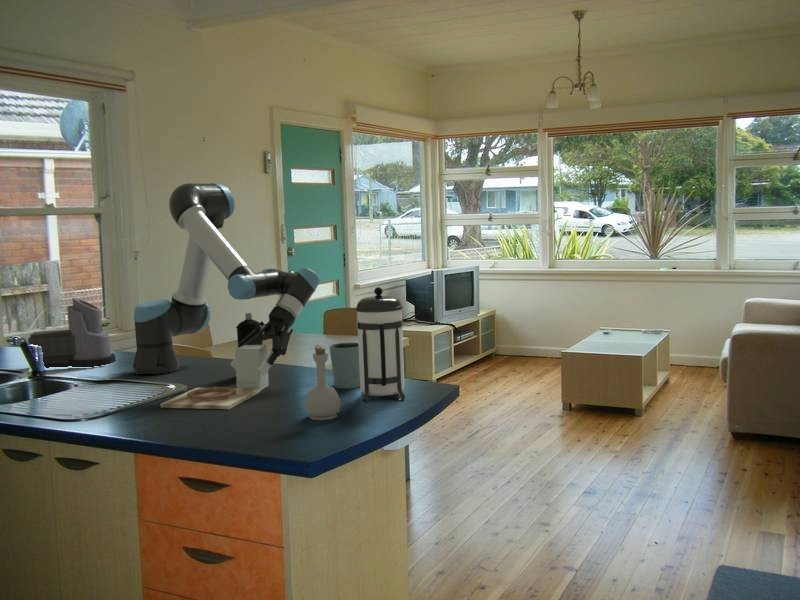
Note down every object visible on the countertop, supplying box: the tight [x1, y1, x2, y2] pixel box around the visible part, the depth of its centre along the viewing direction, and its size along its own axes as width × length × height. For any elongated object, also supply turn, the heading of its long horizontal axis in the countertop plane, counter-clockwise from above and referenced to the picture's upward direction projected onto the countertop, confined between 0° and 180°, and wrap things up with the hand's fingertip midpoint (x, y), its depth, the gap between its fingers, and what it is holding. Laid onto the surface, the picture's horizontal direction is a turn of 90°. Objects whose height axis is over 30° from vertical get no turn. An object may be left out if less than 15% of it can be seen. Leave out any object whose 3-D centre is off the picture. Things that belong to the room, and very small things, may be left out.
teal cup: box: [329, 342, 360, 390], centre depth 234 cm, size 10×10×12 cm
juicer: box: [27, 297, 117, 368], centre depth 284 cm, size 30×16×24 cm, turn 104°
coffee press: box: [354, 286, 406, 403], centre depth 215 cm, size 17×16×30 cm
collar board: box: [160, 386, 261, 410], centre depth 222 cm, size 20×20×2 cm
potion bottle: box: [304, 344, 342, 421], centre depth 198 cm, size 9×9×18 cm
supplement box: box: [234, 344, 270, 392], centre depth 234 cm, size 7×7×13 cm
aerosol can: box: [235, 312, 264, 348], centre depth 254 cm, size 8×8×20 cm
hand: (247, 370), depth 232 cm, fingers open, 13 cm apart
